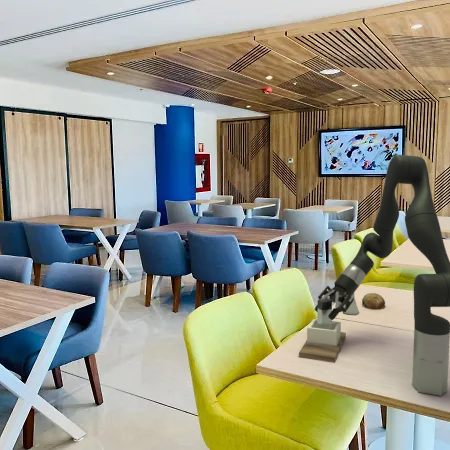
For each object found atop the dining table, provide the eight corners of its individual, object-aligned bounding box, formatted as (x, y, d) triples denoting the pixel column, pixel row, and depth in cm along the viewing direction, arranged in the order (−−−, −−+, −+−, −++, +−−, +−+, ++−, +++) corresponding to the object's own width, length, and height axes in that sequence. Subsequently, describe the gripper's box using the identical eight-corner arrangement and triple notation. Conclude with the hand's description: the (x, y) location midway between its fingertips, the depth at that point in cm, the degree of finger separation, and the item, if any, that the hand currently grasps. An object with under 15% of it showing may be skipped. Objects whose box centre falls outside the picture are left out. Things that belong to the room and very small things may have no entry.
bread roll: (360, 312, 208) (354, 297, 206) (375, 299, 211) (370, 285, 209) (375, 318, 199) (370, 303, 197) (391, 305, 202) (386, 291, 200)
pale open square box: (336, 348, 154) (336, 331, 154) (307, 344, 158) (307, 327, 158) (340, 337, 164) (340, 322, 163) (313, 334, 167) (313, 318, 167)
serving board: (334, 362, 147) (335, 357, 147) (298, 356, 152) (298, 352, 151) (345, 336, 169) (345, 332, 169) (313, 332, 174) (313, 328, 173)
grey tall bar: (331, 339, 160) (332, 300, 158) (321, 340, 159) (322, 302, 157) (326, 336, 163) (327, 298, 161) (317, 337, 162) (317, 299, 160)
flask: (340, 314, 195) (340, 291, 193) (344, 309, 201) (344, 287, 200) (357, 316, 191) (358, 293, 190) (360, 311, 198) (361, 289, 196)
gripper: (332, 269, 167) (305, 303, 165) (357, 277, 154) (328, 314, 152) (344, 281, 170) (317, 315, 167) (369, 290, 157) (341, 327, 154)
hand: (323, 314), depth 159 cm, fingers open, 8 cm apart
